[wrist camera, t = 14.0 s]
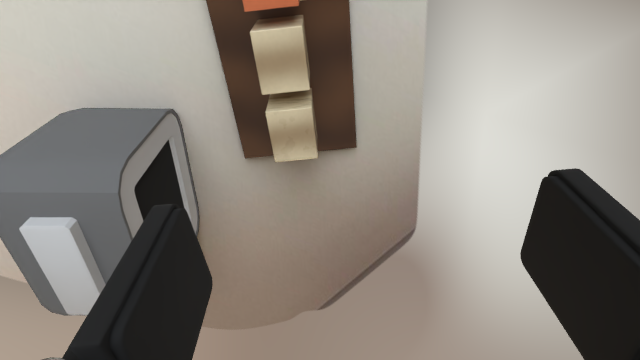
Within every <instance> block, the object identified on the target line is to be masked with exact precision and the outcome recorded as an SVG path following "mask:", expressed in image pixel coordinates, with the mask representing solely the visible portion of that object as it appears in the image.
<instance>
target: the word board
mask: <svg viewBox="0 0 640 360" xmlns="http://www.w3.org/2000/svg"><path fill="white" fill-rule="evenodd" d="M206 1H207V5H208V9H209V13H210V17H211V21H212V26H213V30H214V34H215V38H216V42H217V46H218V50H219V54H220V58H221V62H222V66H223V70H224V74H225V78H226V82H227V87H228V91H229V95H230V99H231V103H232V107H233V111H234V115H235V119H236V123H237V127H238V131H239V135H240V139H241V143H242V148H243V152H244V156H245V158H253V157H263V156H273V155H274V154H273V149H272V144H271V139H270V134H269V129H268V124H267V119H266V113H265V112H266V108H267V104H268V101H269V97H270V94H267V95H262V93H261V88H260V82H259V77H258V72H257V67H256V62H255V57H254V52H253V47H252V41H251V36H250V31H251V29H252V28H253V26H254V25H255V23H256V22H257V20H261V19H270V18H279V17H288V16H296V15H303V17H304V26H305V34H306V43H307V52H308V60H309V69H310V88H312V95H313V104H314V112H315V121H316V129H317V147H318V151H324V150H334V149H344V148H354V147H356V129H355V110H354V90H353V70H352V51H351V31H350V12H349V0H300V2H299V6H292V7H284V8H275V9H266V10H257V11H249V12H245V11H244V6H243V1H242V0H206Z"/></svg>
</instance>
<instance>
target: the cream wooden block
mask: <svg viewBox="0 0 640 360" xmlns="http://www.w3.org/2000/svg"><path fill="white" fill-rule="evenodd" d="M250 36H251V41H252V47H253V52H254V57H255V62H256V67H257V72H258V77H259V82H260V88H261V93H262V95H267V94H276V93H286V92H295V91H305V90H310V69H309V60H308V52H307V43H306V34H305V26H304V17H303V15H296V16H288V17H279V18H270V19H261V20H257V22H256V23H255V25H254V26H253V28H252V29H251V31H250Z"/></svg>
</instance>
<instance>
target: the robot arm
mask: <svg viewBox="0 0 640 360" xmlns="http://www.w3.org/2000/svg"><path fill="white" fill-rule="evenodd" d="M521 260H522V263H523V265H524V267H525V269H526V270H527V272H528V273H529V275H530V276H531V278H532V279H533V281H534V282H535V284H536V286H537V287H538V288H539V290H540V292H541V293H542V295H543V296H544V298H545V299H546V301H547V302H548V304H549V306H550V307H551V309H552V310H553V312H554V313H555V315H556V316H557V318H558V320H559V321H560V323H561V324H562V326H563V327H564V329H565V330H566V332H567V333H568V335H569V337H570V338H571V340H572V341H573V343H574V344H575V346H576V347H577V349H578V350H579V352H580V353H581V355H582V356H583V358H584V360H640V220H639V219H637V218H636V217H635V216H634V215H633V214H632V213H630V212H629V211H628V210H627V209H626V208H625V207H623V206H622V205H621V204H620V203H619V202H618V201H616V200H615V199H614V198H613V197H612V196H610V194H608V193H607V192H606V191H605V190H604V189H603V188H601V187H600V186H599V185H598V184H597V183H596V182H594V181H593V180H592V179H591V178H590V177H589V176H587V175H586V174H585V173H584V172H583V171H581V170H580V169H566V170H555V171H551V172H550V173H549V175H548V177H544V178H543V179H542V182H541V185H540V188H539V192H538V195H537V198H536V202H535V205H534V209H533V212H532V215H531V219H530V223H529V226H528V229H527V232H526V236H525V239H524V243H523V246H522V249H521ZM211 291H212V277H211V274H210V271H209V268H208V266H207V263H206V260H205V258H204V255H203V252H202V250H201V247H200V245H199V242H198V239H197V237H196V234H195V231H194V229H193V226H192V223H191V221H190V218H189V215H188V213H187V211H186V209H184V208H181V209H180V207H179V205H178V204H164V205H155V206H153V207H152V208H151V209H150V211H149V213H148V214H147V216H146V218H145V219H144V221H143V223H142V225H141V226H140V228H139V230H138V231H137V233H136V235H135V236H134V238H133V240H132V241H131V243H130V245H129V246H128V248H127V250H126V251H125V253H124V255H123V256H122V258H121V260H120V262H119V263H118V265H117V267H116V268H115V270H114V272H113V273H112V275H111V277H110V278H109V280H108V282H107V283H106V285H105V287H104V288H103V290H102V292H101V293H100V295H99V297H98V299H97V300H96V302H95V304H94V305H93V307H92V309H91V310H90V312H89V314H88V315H87V317H86V319H85V321H84V322H83V324H82V326H81V327H80V329H79V331H78V332H77V334H76V336H75V337H74V339H73V341H72V342H71V344H70V346H69V348H68V350H67V351H66V353H65V354H64V356H63V358H46V359H43V360H192V358H193V353H194V350H195V347H196V343H197V340H198V336H199V333H200V329H201V326H202V322H203V319H204V315H205V312H206V308H207V305H208V301H209V298H210V294H211Z"/></svg>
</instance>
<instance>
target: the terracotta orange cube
mask: <svg viewBox="0 0 640 360" xmlns="http://www.w3.org/2000/svg"><path fill="white" fill-rule="evenodd" d="M242 1H243V6H244V11H245V12H249V11H257V10H266V9H275V8H284V7H292V6H299V2H300V0H242Z"/></svg>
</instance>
